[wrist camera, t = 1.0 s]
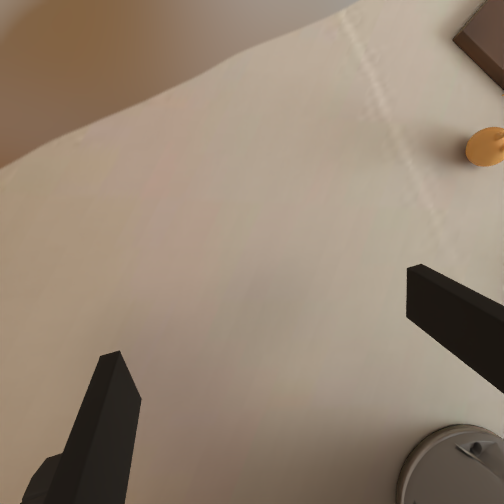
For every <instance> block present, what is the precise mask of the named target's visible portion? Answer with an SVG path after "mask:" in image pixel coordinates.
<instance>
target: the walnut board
mask: <svg viewBox="0 0 504 504" xmlns="http://www.w3.org/2000/svg"><path fill="white" fill-rule="evenodd" d="M453 41H454V42H455V43H456V44H457V45H458V46H459V47H460V48H461V49H462V50H463V51H464V52H465V53H466V54H467V55H468V56H469V57H470V58H472V59H473V60H474V61H475V62H476V63H477V64H478V65H479V66H480V67H481V68H482V69H483V70H484V71H485V72H486V73H487V74H488V75H489V76H490V77H491V78H492V79H493V80H494V81H495V82H496V83H497V84H498V85H499V86H500V87H501V88H502V89H503V90H504V0H487V1H486V2H485V3H484V4H483V5H482V6H481V7H480V9H479V10H478V11H477V12H476V13H475V14H474V16H473V17H472V18H471V19H470V20H469V21H468V23H467V24H466V25H465V26H464V27H463V28H462V29H461V31H460V32H459V33H458V34H457V35H456V36H455V38H454V39H453Z"/></svg>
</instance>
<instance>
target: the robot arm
mask: <svg viewBox="0 0 504 504" xmlns="http://www.w3.org/2000/svg"><path fill="white" fill-rule="evenodd" d="M406 317H407V318H408V319H409V320H411V321H412V322H413V323H415V324H416V325H417V326H418V327H420V328H421V329H422V330H423V331H425V332H426V333H427V334H429V335H430V336H431V337H432V338H434V339H435V340H436V341H437V342H439V343H440V344H441V345H443V346H444V347H445V348H446V349H448V350H449V351H450V352H451V353H453V354H454V355H455V356H457V357H458V358H459V359H460V360H462V361H463V362H464V363H465V364H467V365H468V366H469V367H471V368H472V369H473V370H474V371H476V372H477V373H478V374H479V375H481V376H482V377H483V378H485V379H486V380H487V381H488V382H490V383H491V384H492V385H493V386H495V387H496V388H497V389H499V390H500V391H501V392H502V393H504V306H503V305H501V304H499V303H497V302H495V301H493V300H491V299H489V298H487V297H485V296H483V295H481V294H479V293H477V292H475V291H473V290H472V289H470V288H468V287H466V286H464V285H462V284H460V283H458V282H456V281H454V280H452V279H450V278H448V277H446V276H444V275H442V274H440V273H438V272H436V271H434V270H432V269H431V268H429V267H427V266H425V265H423V264H420V265H416V266H413V267H409V268H407V301H406ZM141 400H142V399H141V397H140V395H139V392H138V390H137V388H136V386H135V383H134V381H133V379H132V377H131V375H130V372H129V370H128V368H127V366H126V364H125V361H124V359H123V357H122V355H121V352H120V351H116V352H113V353H109V354H106V355H102V356H100V358H99V361H98V363H97V366H96V368H95V371H94V374H93V376H92V379H91V381H90V384H89V386H88V389H87V392H86V394H85V397H84V399H83V402H82V404H81V407H80V410H79V412H78V415H77V417H76V420H75V423H74V425H73V428H72V430H71V433H70V435H69V438H68V441H67V443H66V446H65V448H64V451H63V453H61V454H58V455H55V456H52V457H49V458H46V460H45V461H44V462H43V464H42V465H41V466H40V468H39V469H38V470H37V471H36V473H35V474H34V475H33V477H32V478H31V480H30V482H29V485H28V487H27V489H26V491H25V493H24V496H23V498H22V503H20V504H125V498H126V492H127V486H128V479H129V473H130V467H131V461H132V455H133V449H134V443H135V437H136V430H137V424H138V418H139V412H140V406H141ZM396 504H504V439H502V438H501V437H499V436H498V435H496V434H494V433H493V432H491V431H489V430H487V429H484V428H481V427H477V426H471V425H456V426H451V427H447V428H444V429H441V430H439V431H437V432H435V433H433V434H431V435H430V436H428V437H427V438H425V439H424V440H423V441H421V442H420V443H419V444H418V445H417V446H416V447H415V449H414V450H413V451H412V452H411V454H410V455H409V456H408V458H407V460H406V461H405V463H404V465H403V468H402V470H401V473H400V475H399V479H398V484H397V490H396Z"/></svg>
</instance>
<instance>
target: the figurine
mask: <svg viewBox="0 0 504 504" xmlns="http://www.w3.org/2000/svg"><path fill="white" fill-rule="evenodd" d="M502 96H504V94H503V95H502ZM466 156H467V158H468V160H469V161H470V162H471V163H473V164H475V165H477V166H492V165H495V164H498V163H499V162H501V161H503V160H504V129H503V128H499V127H489V128H485V129H482V130H480V131H478V132H477V133H475V134H474V135H473V136H472V137H471V138H470V140H469V141H468V143H467V146H466Z"/></svg>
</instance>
